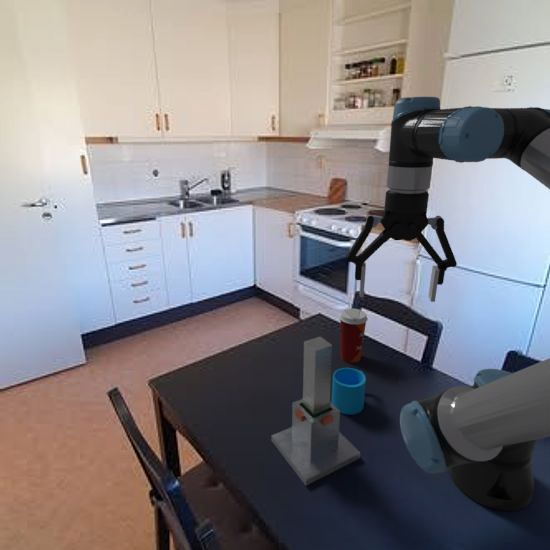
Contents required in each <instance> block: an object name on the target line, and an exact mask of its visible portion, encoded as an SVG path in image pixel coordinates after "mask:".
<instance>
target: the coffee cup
mask: <svg viewBox="0 0 550 550" xmlns="http://www.w3.org/2000/svg"><path fill="white" fill-rule="evenodd" d="M339 320H340V321H339V322H340V326H339V327H340V329H339V331H340V358H341V360H342V361H344V362H347V363H350V364H351V363H357V362H360V360H361V357H362V351H363V347H364V345H363V344H364V339H365V332H366V331H365V330H366V325H367V321H368V317H367V313H366V312H365V311H364V310H361V309H358V308H346V309H343V310H342V311H341V312H340V314H339Z"/></svg>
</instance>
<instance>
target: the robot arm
mask: <svg viewBox="0 0 550 550" xmlns="http://www.w3.org/2000/svg"><path fill="white" fill-rule="evenodd" d="M390 126H391V127H390V141H389V155H388V167H387V178H386V187H387V191H386V192H385V196H384V197H385V198H384V208H383V209H384V212H383V214H382V216H379V215H373V214H372V213H368V214H367V215H366V219H365V224H364V226H363V227H362V230H361V231H360V233H359V234H358V236H357V238H356V239H355V241H354V243H353V244H352V246H351V248H350V249H349V251H348V252H347V254H346V261H347V263H353V264H354V265H355V270H354V278H355V279H354V280H355V281H359V298H364V296H365V295H364V294H365V282H366V269H367V268H366V267H367V265H366V264H367V263H366V261H367V260H368V259H369V258H370V257H371V256H372V255H373V254H374V253H375V252H377V250H378V249H379V248H381V247H382V246H383V245H384V244H385V243H387V242H388V241H389V240H390V239H392V240H394V241H401V240H403V241H409V242H412V241H413V240H415V239H416V240H417V241H418V242H419V244H420V245H421V247H423V248H424V250H425V251H426V253H428V255H429V256H430V258H431V259H432V260H433V262H434V263H435V264H436V265H432V267H431V274H430V281H429V291H428V298H429V301H430V302H431V303H432V302H433V303H435V302H436V295H437V289H438V285H439V286H441V285H442V286H443V284H444V279H445V274H446V271H447V270H448V268H455V267H457V265H458V263H457V260H456V258H455V255H454V252H453V250H452V247H451V244H450V243H449V239H448V237H447V234H446V232H445V220H444V218H443V217H442V216H441V215H436V216H435V217H428V216H427V215H428V214H427V213H428V205H429V196H430V193H429V192H428V190H429V189H430V188H431V182H432V173H433V172H432V171H433V166H434V159H439V160H446V161H453V162H456V163H459V164H460V163H461V164H463V163H479V162H483V161H486V160H491V159H494V160H495V159H497V160H498V159H506V160H508V161H510V162H511V163H513V164H514V165H516V166H517V167H519V168H520V169H521V170H523V171H525V172H526V173H527V174H528V175H530V176H532V178H534V179H535V180H536V181H538V182H539V183H540V184H541V185H543V186H545V188H547V189H548V190H550V109H548V108H541V107H538V106H536V107H533V106H532V107H531V106H529V107H514V108H513V107H510V108H509V107H504V108H503V107H488V106H484V107H483V106H472V105H469V106H464V107H452V108H442V109H441V99H440V97H436V96H411V97H409V96H407V97H401V98H399V99H397V100H396V101H395V103H394V107H393V115H392V120H391V122H390ZM378 224H381V225H382V227H383V230H382V231H381V232H380V233H379V234H378V236H377V237H376V238H375V239H373V240H372V242H371V243H369V245H368V246H367V247H365V248H364V250H362V251H361V252H360V253H359V251H360V249H361V248H362V246H363V245H364V243H365V241H366V240H367V238H368V237H369V235H370V234H371V232H372V230H373V228H376V227H377V225H378ZM428 225H430V227H431V229H433V230H434V231H435V233H436V235H437V239H438V240H439V241H438V242H439V244H440V246H441V248H442V251H443V253H444V256H445V259H442V257H440V255H439V254H438V252H437V251H436V250H435V249H434V247H433V246H432V245H431V243H430V241H428V239H427V238H426V237H425V235H424V234H423V233H422V232H423V231H424V230H425V228H426V227H428ZM358 253H359V254H358ZM357 254H358V255H357ZM399 424H400V425H399V427H400V432H401V435H402V439H403V442H404V443H405V446H406V448H407V451H408V453H409V454H410V456H411V457H412V459H413V461H414V462H415V463H416V464H417V465H418V467H419V468H420V469H422V470H423V471H424V472H426V473H428V474H438V473H445V472H446V471H447V470H448V473H449V476H450V477H451V480H452V481H453V483H454V485H456V487H457V488H458V489H459V490H460V491H461V492H462V493H463V494H465V495H466V496H467V497H468V498H469V499H471V500H472V501H474V502H476V503H478V504H480V505H483V506H484V507H487V508H490V509H493V510H497V511H502V512H515V511H520V510H522V509H524V508H526V507H527V506H529V505H530V503H531V502H532V498H533V495H534V491H535V480H534V474H533V467H532V461H531V459H532V456H533V453H534V450H535V446H536V442H537V440H539V439H544V438H548V437H549V438H550V358H547V359H544V360H542V361H539V362H537V363H535V364H533V365H530V366H527V367H525V368H522V369H520V370H517V371H515V372H510V371H508V370H507V371H506V370H505V369H504V370H502V369H498V368H483V369H481V370H479V371H478V372H477V373H476V375H475V376H474V378H473V385H471V386H467V385H459V386H458V385H456V386H453V387H450V388H449V389H446V390H443V391H441V392H439V393H436V394H435V395H433V396H430V397H426V398H424V399H420V400H413V401H412V402H410V403H407V404H405V405H403V407H402V408H401V411H400V414H399Z"/></svg>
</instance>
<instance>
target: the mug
mask: <svg viewBox="0 0 550 550" xmlns="http://www.w3.org/2000/svg"><path fill="white" fill-rule="evenodd" d="M366 379H367V377H366V373H365V372H364V371H362V370H359V369H356V368H351V367H342V368H338V369H337V370H335V371H334V373H333V374H332V387H331V403H332V404H333V405H334V406H335V407H337V408H338V409H339V410H340V414H343V415H349V416H350V415H356V414H359V413H361V412H362V411H363V409H364V405H365V394H366V384H367V383H366Z"/></svg>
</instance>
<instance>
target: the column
mask: <svg viewBox="0 0 550 550" xmlns="http://www.w3.org/2000/svg"><path fill="white" fill-rule="evenodd" d="M332 358H333V345H332V343H330V342H328V340H326V339H325V338H323V337H322V336H317V337H315V338H312V339H308V340H305V341H303V371H302V372H303V375H302V376H303V380H302V381H303V383H302V398H301V399H302V404H303V409H304V410H305V411H306V412H307V413H308V414H309V415H310V416H311V417H312V418H315V417H317V416H320V415H322V414H324V413H327V412H329V408H330V405H331V403H332V402H331V382H332V361H333V360H332ZM330 402H331V403H330Z"/></svg>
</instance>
